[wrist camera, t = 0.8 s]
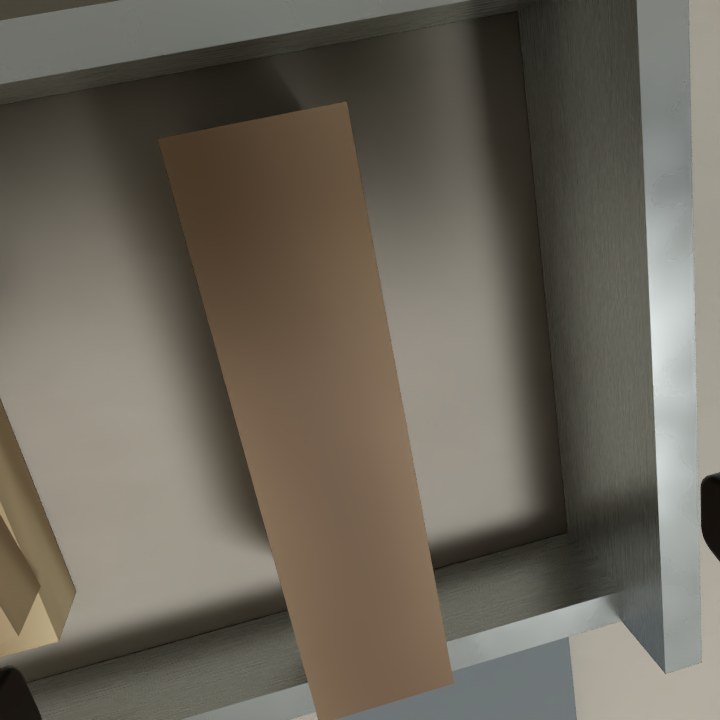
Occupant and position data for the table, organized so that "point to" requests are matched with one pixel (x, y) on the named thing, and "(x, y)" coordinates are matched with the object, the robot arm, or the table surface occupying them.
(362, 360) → the walnut panel
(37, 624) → the offcut stack
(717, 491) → the robot arm
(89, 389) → the table surface
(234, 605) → the table surface
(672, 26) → the frame
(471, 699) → the rubber mat
